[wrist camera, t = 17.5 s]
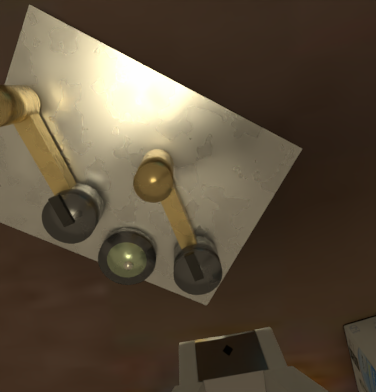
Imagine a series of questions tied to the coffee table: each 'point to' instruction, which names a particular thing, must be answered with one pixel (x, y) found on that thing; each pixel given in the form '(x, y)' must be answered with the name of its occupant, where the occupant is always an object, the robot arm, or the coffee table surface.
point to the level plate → (134, 154)
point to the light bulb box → (363, 352)
